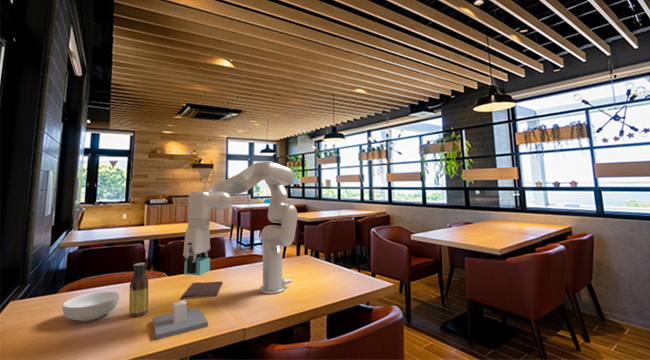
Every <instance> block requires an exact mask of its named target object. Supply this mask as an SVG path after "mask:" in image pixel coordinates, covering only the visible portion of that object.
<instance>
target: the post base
mask: <svg viewBox="0 0 650 360" xmlns="http://www.w3.org/2000/svg"><path fill="white" fill-rule="evenodd" d="M187 308H188V303H187V301H186V299H182V300H179V301H174V302H173V303H172V312H171V313H167V314H162V315H159V316H153V317H152V321H151V322H152V328H153V333H154V338H155V341H158V340H162V339H165V338H169V337H172V336H177V335H180V334H185V333H188V331H189V332H192V331H195V330H200V329H204V328H207V327H209V326H208V325H209V322H208V320H207V318H206V316H205V315H204V313H203V312H202V310H201V309H200V306H199V307H194V308H189V309H187ZM191 330H192V331H191ZM184 332H185V333H184Z"/></svg>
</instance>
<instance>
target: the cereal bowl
mask: <svg viewBox="0 0 650 360" xmlns="http://www.w3.org/2000/svg"><path fill="white" fill-rule="evenodd" d="M119 300H120V294H119V293H118V292H116V291H98V292H96V291H95V292H91V293H85V294H81V295H78V296H75V297H73V298H72V297H71V298H70V299H67V300H66V301H65V302H64V303H62V312H63V315H64V316H65V317H66V318H67V319H69V320H73V321H79V322H91V321H94V320H98V319H100V318H102V317H103V316H104V315H106V314H109V313H111V311H113V310H114V309H115V308H116V307H117V305H118V304H119Z"/></svg>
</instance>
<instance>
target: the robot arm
mask: <svg viewBox="0 0 650 360" xmlns="http://www.w3.org/2000/svg"><path fill="white" fill-rule="evenodd" d="M261 181H264V182H265V184H266V185H267V186H268V188H269V190H270V200H269V206H268V211H267V219H268V220H269V222H271V223H276V224H281V225H276V224H273V225H272V224H269V225H266V226H264V227H263V229H262V230H261V232H260V241H261V246H262V285H261V286H260V287H259V289H258V290H259V292H260V293H261V294H266V295H273V294H274V295H275V294H280V293H282V292H284V291H285V290H286V285H287V284H291V283H292V279H291V278H289V279H286V278H284V279H283V252H282V247H289V246H291V244H292V243H293V242H294V240H295V236H296V235H295V234H296V231H297V223H298V211H297V208H296V206H294V205H293V204H290V203H289V204H288V192H287V189H286V187H285V186H290V185H291V184H293V183H294V181H295V174H294V172H293V170H292V169H291V168H289V167H287V166H285V165H281V164H279V163H277V162H273V161H267V160H266V161H259V162H255V163H253V164H251V165H250V166H248V167H247V168H245V169H243V170H242V171H240V172H239V173H238V174H235V175H233V176H232V177H231V176H230V177H229V178H227V179H225V180H222V181H221V182H218V183H216V184H214V185H213V186H211V187H210V188H208V189H206V190H204V191H203V190H201V191H200V190H199V191H197V190H195V191H191V192H189V195H188V210H187V211H188V214H187V228H186V230H185V234H184V242H183V244H184V245H183V253H182V256H183V257H184V260H186V262H187V273H191V274H194V273H196V262H195V259H196V257H197V256H198V255H199V257H201V258H209V254H210V250H211V248H212V245H211V243H210V242H211V235H210V234H211V233H210V232H211V231H210V215H211V213H210V212H211V210H215V211H216V210H217V211H222V210H226V209H228V207H230V205H231V204H232V197H231V196H234V195H239V194H243V193H245V192H248V191H250V189H252V188H253V187H255V186H256V185H257V184H259V183H260V182H261Z"/></svg>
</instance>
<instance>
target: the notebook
mask: <svg viewBox="0 0 650 360" xmlns="http://www.w3.org/2000/svg"><path fill="white" fill-rule="evenodd" d="M222 285H223V281H210V282H208V281H205V282H197V281H196V282H192V283H191V285H190V286H189V287H188V288H187V290H185V292H184V293H183V295H182V296H181V298H180V299H181V300H188V299H200V298H201V299H202V298H214V297H217V296H218V294H219V293H220V290H221V288H222Z"/></svg>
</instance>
